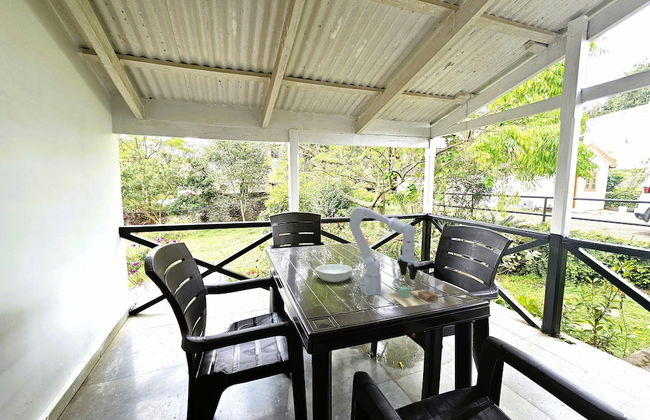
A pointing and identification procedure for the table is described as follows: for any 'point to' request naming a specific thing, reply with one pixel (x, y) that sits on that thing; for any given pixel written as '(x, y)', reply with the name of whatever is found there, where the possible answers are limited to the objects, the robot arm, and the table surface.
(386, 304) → the table surface
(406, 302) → the build board
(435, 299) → the walnut slab
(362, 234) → the robot arm
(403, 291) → the teal block
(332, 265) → the serving bowl
